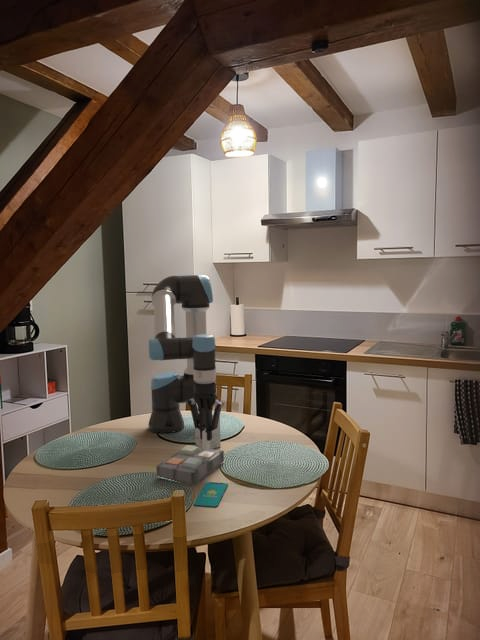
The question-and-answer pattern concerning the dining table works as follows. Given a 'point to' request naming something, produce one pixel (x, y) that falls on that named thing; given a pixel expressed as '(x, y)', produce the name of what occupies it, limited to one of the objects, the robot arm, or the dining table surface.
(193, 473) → the keypad
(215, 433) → the small box
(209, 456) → the key ivory
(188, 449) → the key sage
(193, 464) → the key blue
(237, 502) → the dining table surface
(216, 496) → the smartphone
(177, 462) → the key terracotta
